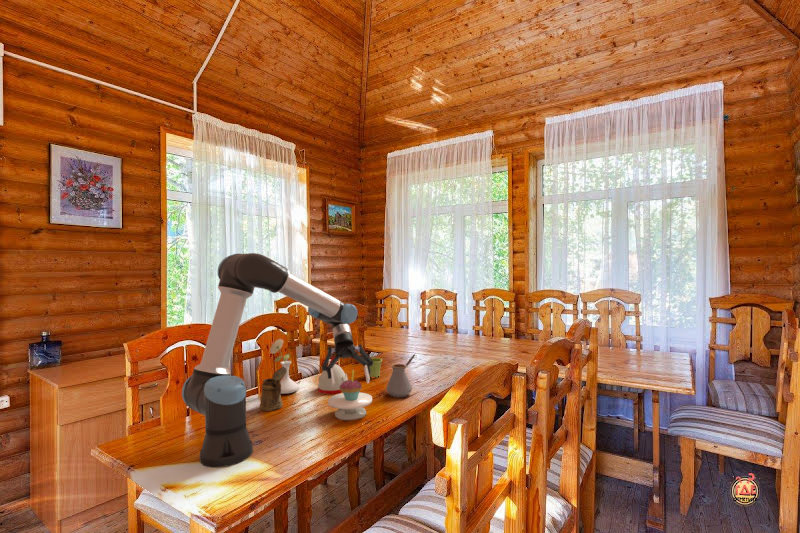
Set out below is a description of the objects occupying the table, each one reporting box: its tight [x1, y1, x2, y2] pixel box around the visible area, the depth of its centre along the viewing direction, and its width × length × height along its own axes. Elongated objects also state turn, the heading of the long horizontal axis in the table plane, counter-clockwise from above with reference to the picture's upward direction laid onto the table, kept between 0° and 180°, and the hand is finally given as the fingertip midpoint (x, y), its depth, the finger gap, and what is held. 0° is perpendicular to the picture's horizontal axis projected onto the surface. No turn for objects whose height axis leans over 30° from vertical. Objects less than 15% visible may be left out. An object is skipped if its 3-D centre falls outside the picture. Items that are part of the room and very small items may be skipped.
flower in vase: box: [269, 338, 300, 395], centre depth 189 cm, size 13×11×25 cm
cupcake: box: [340, 368, 363, 401], centre depth 160 cm, size 9×8×12 cm
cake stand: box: [327, 392, 373, 421], centre depth 160 cm, size 17×17×6 cm
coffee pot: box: [386, 354, 416, 398], centre depth 187 cm, size 21×12×15 cm, turn 149°
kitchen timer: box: [317, 356, 349, 395], centre depth 193 cm, size 14×14×15 cm
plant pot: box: [369, 357, 383, 378], centre depth 213 cm, size 9×9×9 cm
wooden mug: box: [258, 366, 287, 412], centre depth 168 cm, size 9×14×18 cm, turn 50°
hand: (351, 383), depth 158 cm, fingers open, 13 cm apart
